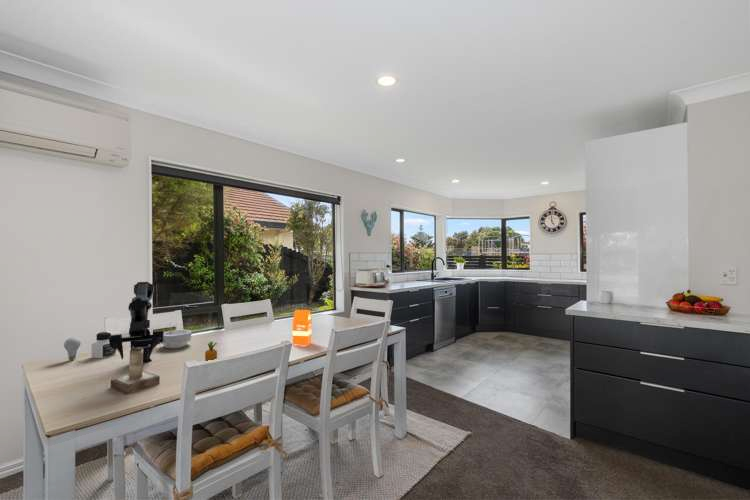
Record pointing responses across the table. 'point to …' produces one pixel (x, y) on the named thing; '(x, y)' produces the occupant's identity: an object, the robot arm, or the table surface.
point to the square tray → (134, 382)
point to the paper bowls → (176, 338)
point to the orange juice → (302, 327)
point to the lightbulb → (72, 347)
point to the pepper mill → (136, 363)
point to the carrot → (211, 352)
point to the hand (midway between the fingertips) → (136, 357)
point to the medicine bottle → (102, 346)
